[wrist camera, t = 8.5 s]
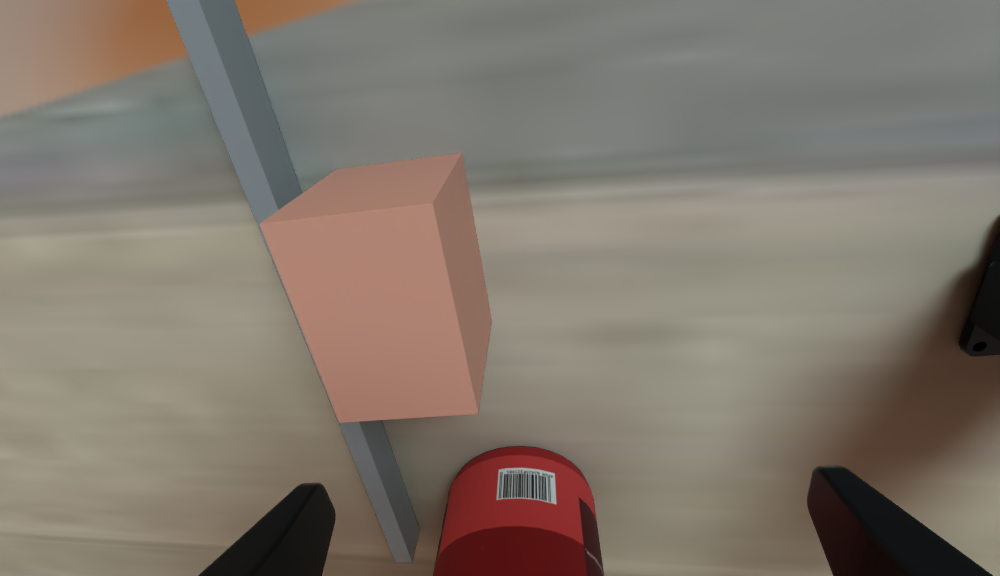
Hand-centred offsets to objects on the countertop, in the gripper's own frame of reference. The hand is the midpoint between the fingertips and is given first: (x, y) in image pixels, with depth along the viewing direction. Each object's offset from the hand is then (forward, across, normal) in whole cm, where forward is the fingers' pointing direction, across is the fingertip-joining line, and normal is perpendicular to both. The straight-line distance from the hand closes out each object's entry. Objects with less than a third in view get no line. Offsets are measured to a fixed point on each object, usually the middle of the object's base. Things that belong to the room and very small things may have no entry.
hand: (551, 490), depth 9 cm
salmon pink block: (+12, +5, 0) cm, 13 cm away
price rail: (+12, +10, +2) cm, 16 cm away
